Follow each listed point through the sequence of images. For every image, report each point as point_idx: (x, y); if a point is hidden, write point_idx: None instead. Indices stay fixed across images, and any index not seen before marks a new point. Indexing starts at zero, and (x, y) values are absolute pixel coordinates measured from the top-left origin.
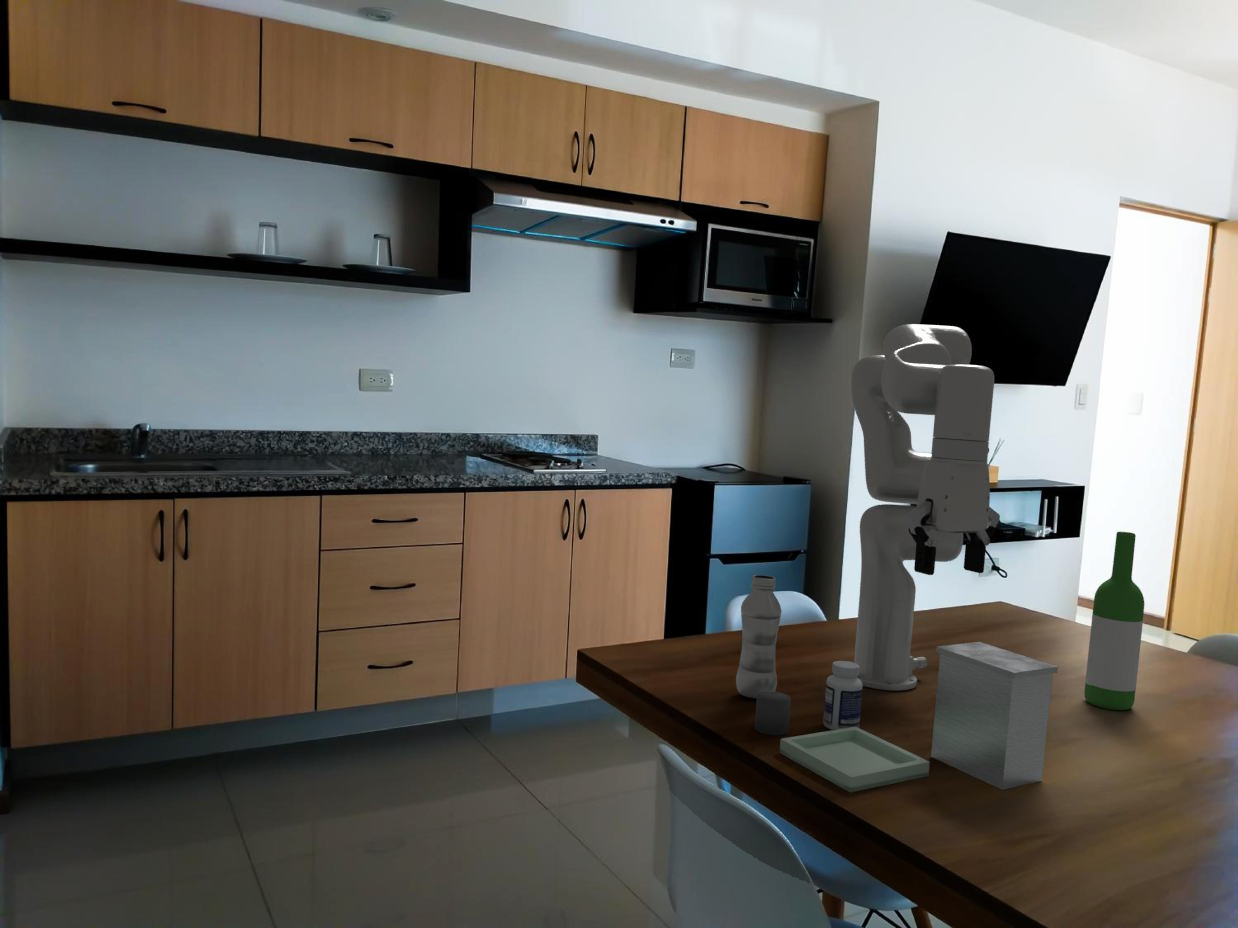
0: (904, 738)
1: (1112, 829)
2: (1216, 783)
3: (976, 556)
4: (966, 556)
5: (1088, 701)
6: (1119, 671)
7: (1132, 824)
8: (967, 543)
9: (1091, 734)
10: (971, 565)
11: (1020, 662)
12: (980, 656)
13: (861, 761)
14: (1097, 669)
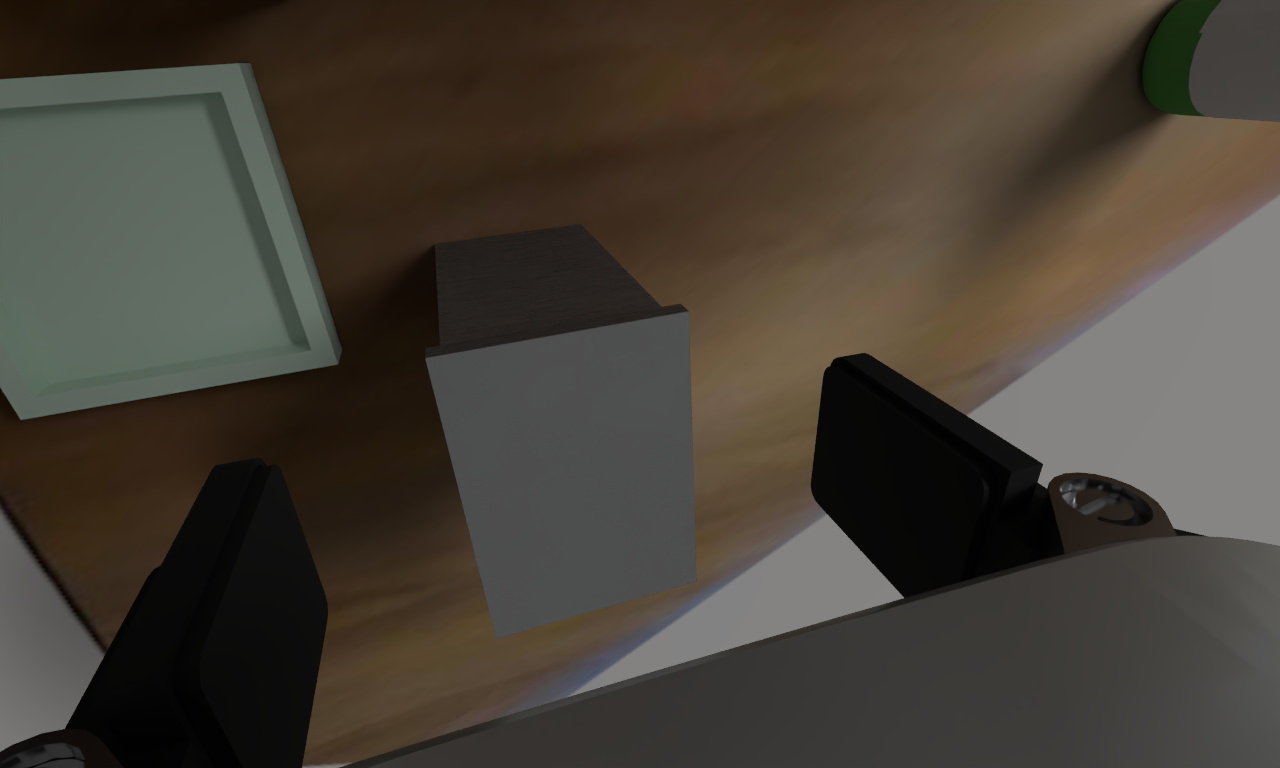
0: (443, 102)
1: None
2: None
3: (884, 533)
4: (888, 430)
5: (1158, 26)
6: (1252, 107)
7: None
8: (999, 482)
9: (940, 214)
10: (840, 447)
11: (613, 548)
12: (520, 489)
13: (162, 260)
14: (1248, 51)
